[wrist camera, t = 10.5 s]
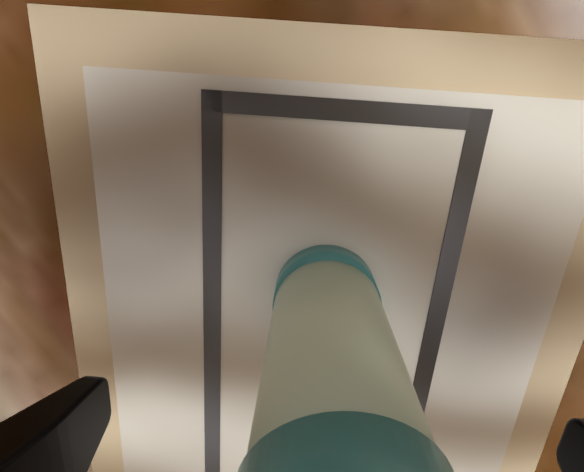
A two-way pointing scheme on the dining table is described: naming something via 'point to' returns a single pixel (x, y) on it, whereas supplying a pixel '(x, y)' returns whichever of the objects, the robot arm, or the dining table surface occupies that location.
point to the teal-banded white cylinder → (335, 377)
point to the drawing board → (313, 216)
